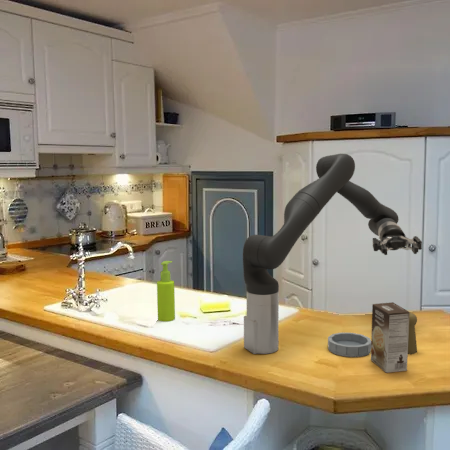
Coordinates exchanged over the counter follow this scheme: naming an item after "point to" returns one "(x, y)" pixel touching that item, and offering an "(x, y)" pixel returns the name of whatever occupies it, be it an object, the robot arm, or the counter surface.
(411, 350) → the cork
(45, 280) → the counter surface
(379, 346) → the coffee box
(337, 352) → the slate dish
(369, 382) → the counter surface
